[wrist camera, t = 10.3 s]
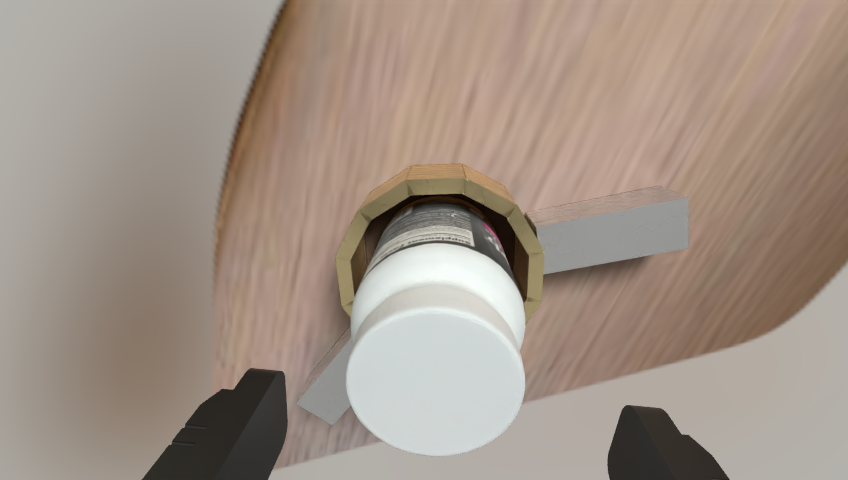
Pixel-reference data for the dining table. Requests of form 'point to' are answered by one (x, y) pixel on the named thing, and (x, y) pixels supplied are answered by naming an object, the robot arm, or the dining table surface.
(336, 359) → the stand
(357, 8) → the dining table surface
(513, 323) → the pill bottle
